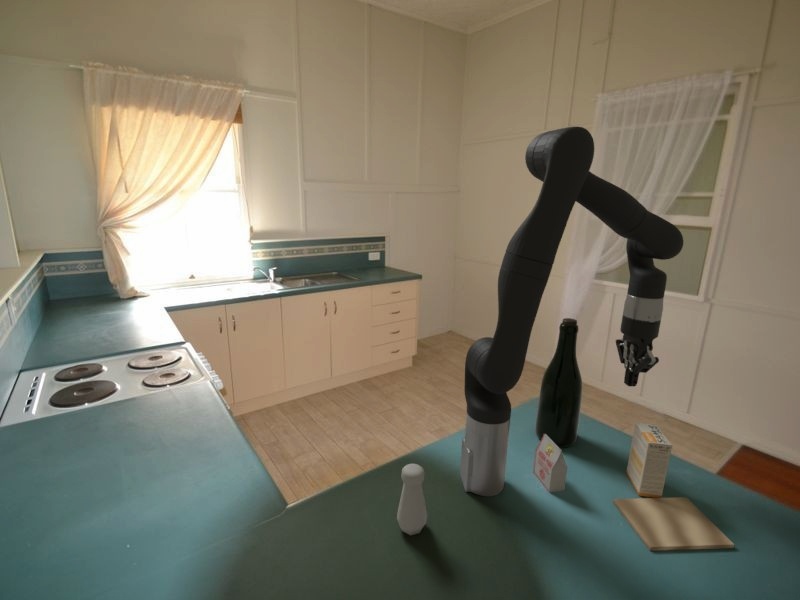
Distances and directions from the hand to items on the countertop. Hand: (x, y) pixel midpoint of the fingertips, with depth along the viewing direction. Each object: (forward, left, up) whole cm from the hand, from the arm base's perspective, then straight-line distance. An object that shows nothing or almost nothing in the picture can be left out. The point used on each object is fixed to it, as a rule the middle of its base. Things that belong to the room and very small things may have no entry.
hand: (630, 385), depth 95 cm
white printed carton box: (-21, -8, -20) cm, 30 cm away
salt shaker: (-53, -20, -20) cm, 60 cm away
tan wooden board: (-2, -21, -20) cm, 29 cm away
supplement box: (0, -10, -20) cm, 22 cm away
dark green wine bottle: (-12, +9, -20) cm, 25 cm away
